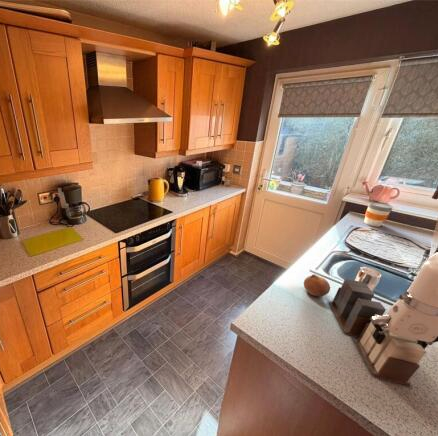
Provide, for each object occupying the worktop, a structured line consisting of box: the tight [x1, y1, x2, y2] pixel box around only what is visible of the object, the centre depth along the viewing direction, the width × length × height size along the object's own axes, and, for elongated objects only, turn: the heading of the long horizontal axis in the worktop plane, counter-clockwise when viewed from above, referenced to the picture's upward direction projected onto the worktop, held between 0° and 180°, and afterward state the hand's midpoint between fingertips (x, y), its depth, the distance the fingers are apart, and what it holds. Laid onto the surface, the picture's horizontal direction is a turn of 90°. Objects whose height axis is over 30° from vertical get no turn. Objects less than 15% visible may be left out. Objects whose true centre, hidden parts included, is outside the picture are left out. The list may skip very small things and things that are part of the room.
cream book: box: [369, 332, 418, 364], centre depth 72 cm, size 6×2×13 cm, turn 72°
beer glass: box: [354, 266, 383, 292], centre depth 98 cm, size 7×7×15 cm
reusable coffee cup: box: [363, 201, 393, 227], centre depth 166 cm, size 13×13×15 cm
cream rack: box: [353, 314, 427, 386], centre depth 73 cm, size 9×13×14 cm
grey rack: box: [328, 278, 387, 338], centre depth 88 cm, size 9×16×14 cm, turn 162°
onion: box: [303, 273, 331, 298], centre depth 102 cm, size 10×9×10 cm
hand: (395, 344), depth 71 cm, fingers open, 9 cm apart
